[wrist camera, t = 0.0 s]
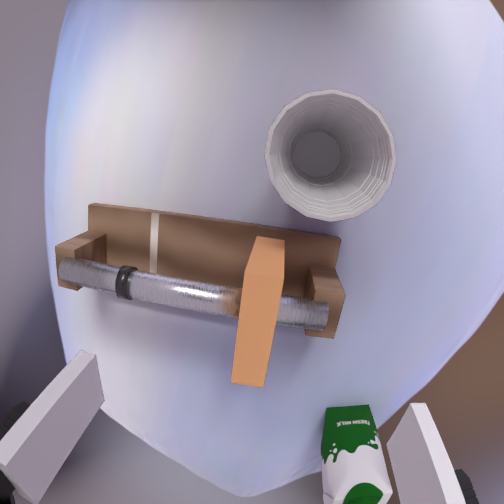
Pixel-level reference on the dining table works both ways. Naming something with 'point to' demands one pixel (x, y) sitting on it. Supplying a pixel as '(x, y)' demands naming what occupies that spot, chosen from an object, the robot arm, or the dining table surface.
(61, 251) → the pipe stand
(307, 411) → the dining table surface
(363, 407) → the milk carton
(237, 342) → the collar
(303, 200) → the plastic cup
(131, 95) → the dining table surface
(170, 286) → the steel pipe
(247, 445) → the dining table surface
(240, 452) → the dining table surface
